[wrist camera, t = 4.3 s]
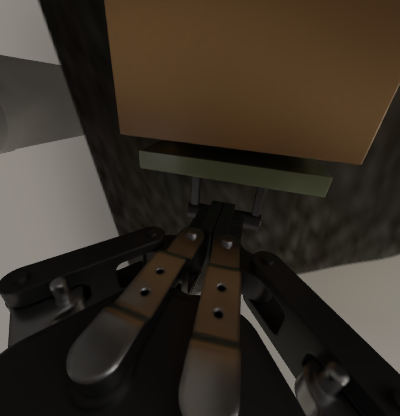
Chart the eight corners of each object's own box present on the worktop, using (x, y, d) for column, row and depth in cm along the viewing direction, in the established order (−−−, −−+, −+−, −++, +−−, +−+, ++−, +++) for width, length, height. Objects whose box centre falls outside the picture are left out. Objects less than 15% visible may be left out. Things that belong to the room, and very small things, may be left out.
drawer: (286, 209, 20) (298, 262, 14) (179, 190, 22) (144, 228, 16) (377, -77, 11) (544, -329, 5) (183, -62, 13) (108, -217, 7)
